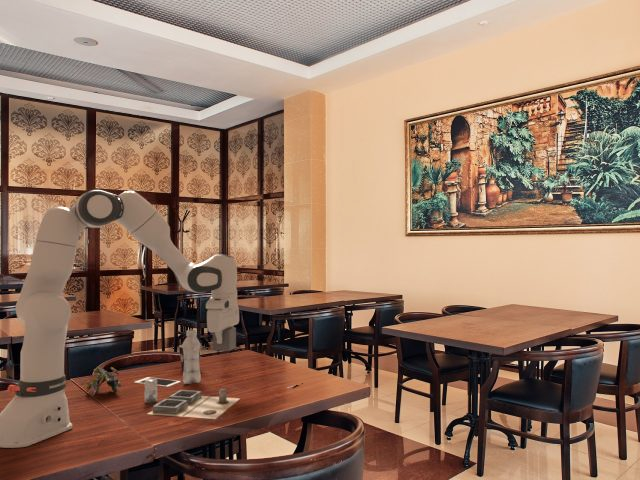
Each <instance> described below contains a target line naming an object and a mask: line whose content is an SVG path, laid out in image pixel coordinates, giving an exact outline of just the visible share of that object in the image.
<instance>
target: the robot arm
mask: <svg viewBox="0 0 640 480" xmlns="http://www.w3.org/2000/svg"><path fill="white" fill-rule="evenodd" d="M112 222H116V223H118V224H119V225H121V226H122V227H124V228H125V229H126V230H127V232H129V233H130V235H131V236H132V237H134V239H136V240H137V241H138V242H139V243H140V244H142V245H144V246H145V247H146V248H147V249H149V250H150V251H152V252H153V253H155V254H156V255H157V256H158V257H159V258H160V259H161V260H162V261H163V263H165V265H166V266H168V268H169V269H171V271H172V272H173V274H174V276H175V277H174V278H175V280H176V282H177V285H178V286H179V288H181V289H182V290H183V291H186V292H189V293H197V294H204V293H208V292H210V293H211V295H210V297H209V299H208V300H207V301H206V303H205V309H207V311H206V327H207V331H208V332H209V333H213V332H215V335H216V338H217V343H218V344H221V343H223V338H222V333H223V330H224V329H227V328H229V327H234V326H236V325H238V324H240V323H239V322H240V310H239V308H240V307H239V304H238V289H237V282H238V267H237V262H236V258H234V256H231V255H228V254H221V253H216V254H213V256H210V258H208V259H206V260H204V261H202V262H200V263H195V262H192V261H191V260H189V259H187V258H186V257H185V255H184V254H183V253H182V252H181V251H180V250H179V249H178V248H177V247H176V245H174V243H173V241H172V239H171V227H170V225H169V224H168V222H167V220H166V219H165V217H164V216H163V215H162V213H160V212H159V210H157V209H156V207H155V206H154V205H153V204H152V203H150V202H149V201H148V200H147V199H146V198H145V197H143V196H142V195H141V194H140V193H138V192H136V191H134V190H127V191H123V192H121V193H120V194H118V195H117V194H114V193H113V192H112V193H111V192H109V191H105V190H101V189H92V190H89V191H87V192H85V193H83V194H82V195H80V196H79V197H78V198H77V199H76V200H75V202H74V203H72V205H71V206H70V207H65V206H54V207H50V208H48V209H47V210H46V211H45V213H44V215H43V217H42V219H41V222H40V224H39V227H38V229H37V232H36V237H35V241H34V246H33V249H32V250H33V251H32V255H31V259H30V265H29V268H28V270H27V274H26V277H25V279H24V281H23V284H22V286H21V287H22V288H21V290H20V294H19V297H18V299H17V302H16V304H15V314H16V317H17V319H18V320H19V321H20V322H21V323H22V324H23V325H24V326H25V327H24V328H25V329H24V335H23V341H22V347H21V350H20V364H19V365H20V375H19V377H20V379H19V380H18V382H17V384H10V385H8V387H7V392H8V393H14V394H15V395H14V397H13V398H12V399H11V400H9V401H10V402H8V403H7V404H6V406H5V407H4V409H3V410H1V412H0V448H6V449H7V448H8V449H9V448H11V449H14V448H24V447H29V446H31V445H33V444H37V443H39V442H42V441H43V440H47V439H49V438H51V437H54V436H57V435H59V434H61V433H64V432H67V431H69V430H71V429H73V423H72V422H71V420H70V419H71V418H70V411H69V404H68V403H69V402H68V397H67V396H66V393H65V389H66V386H67V383H66V382H67V379H66V374H65V345H66V339H67V334H68V328H69V323H70V321H71V318H72V308H71V304H70V303H69V302H68V300H67V299H66V298H65V297H64V296H63V293H64V290H65V287H66V285H67V282H68V281H69V278H70V276H71V275H72V274H73V269H74V266H75V265H74V264H75V259H76V254H77V249H78V245H79V239H80V237H81V236H80V235H81V232H82V231H83V230H86V229H95V228H96V229H97V228H101V227H104V226H106V225H108V224H111V223H112Z"/></svg>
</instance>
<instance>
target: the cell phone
mask: <svg viewBox="0 0 640 480" xmlns="http://www.w3.org/2000/svg"><path fill="white" fill-rule="evenodd" d="M147 379H157V387H164V388H169V387H172V386H175V385H176V384H177V385H178V384H179V383H181V380H175V379H174V380H173V379H166V378H160V377H159V378H158V377H151V376H148V377H144V378H142V379H138V380H136V381H134V382H133V383H134V384H140V385H145V380H147Z"/></svg>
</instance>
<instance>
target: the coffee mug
mask: <svg viewBox="0 0 640 480" xmlns="http://www.w3.org/2000/svg"><path fill="white" fill-rule="evenodd" d="M182 345H183V344H181V345H179V357H180V365H181V371H182V372H184V353H183V346H182ZM200 358H201V354H200V352H199V360H200Z"/></svg>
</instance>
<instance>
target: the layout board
mask: <svg viewBox="0 0 640 480" xmlns="http://www.w3.org/2000/svg"><path fill="white" fill-rule="evenodd" d="M227 390H228V389H226V388H221V389H219V390H218V396H205V395H202V390H186V389H180V390H177V391H176V392H175V393H173V394H171V395H169V396H168V398H164V399H163V400H160V401H159V402H157V403H156V404H154V405H153V406H152V410H151V411H150V412H148V413H147V415H153V416H155V415H156V416H169V417H180V418H181V417H182V418H183V417H184V418H197V419H208V420H209V419H210V420H217V419H218V418H220V417H221V415H222V414H224V413H225V412H226V411H227V410H228V409H230V408H231V407H232V406H233V405H235V404H236V403H238V401H239V400H240V399H241V398H239V397H238V398H237V397H228V395H227V394H228V393H227V392H228V391H227Z"/></svg>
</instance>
